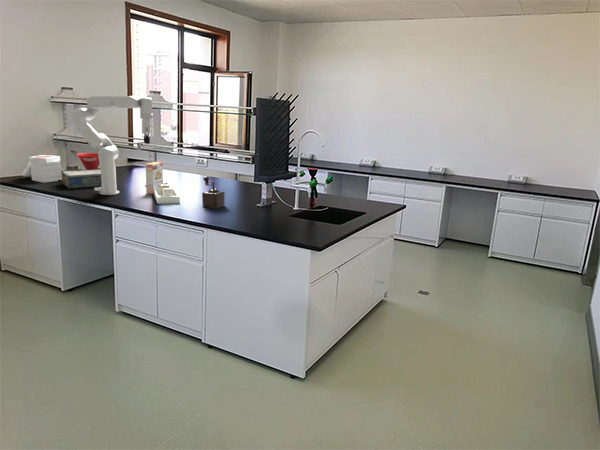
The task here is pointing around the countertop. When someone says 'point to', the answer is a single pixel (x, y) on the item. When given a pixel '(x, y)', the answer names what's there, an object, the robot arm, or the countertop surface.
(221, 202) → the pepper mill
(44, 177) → the pizza boxes
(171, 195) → the white block
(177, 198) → the tray
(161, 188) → the light wooden cube
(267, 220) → the countertop surface
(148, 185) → the cracker box
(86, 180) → the metal box
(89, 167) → the fire bucket
